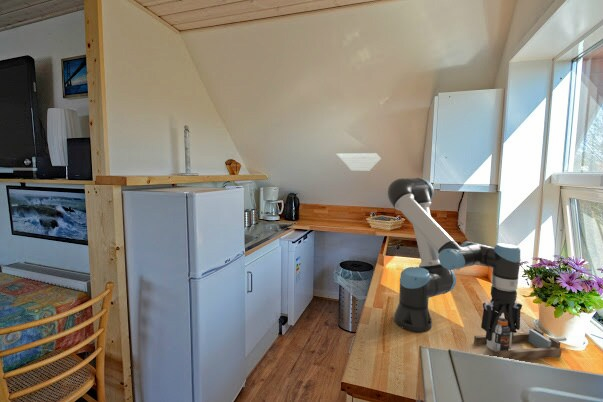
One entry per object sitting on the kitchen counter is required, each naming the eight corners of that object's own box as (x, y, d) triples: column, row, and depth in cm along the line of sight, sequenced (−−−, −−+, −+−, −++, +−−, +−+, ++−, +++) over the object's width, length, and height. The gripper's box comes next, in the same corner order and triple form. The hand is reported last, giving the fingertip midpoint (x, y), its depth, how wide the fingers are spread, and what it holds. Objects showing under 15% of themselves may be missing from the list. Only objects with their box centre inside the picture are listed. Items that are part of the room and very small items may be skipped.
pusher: (546, 354, 101) (548, 341, 100) (528, 341, 108) (529, 329, 107) (574, 352, 102) (576, 339, 101) (554, 339, 109) (555, 327, 109)
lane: (495, 361, 97) (496, 348, 96) (473, 343, 107) (474, 331, 107) (560, 356, 100) (562, 343, 99) (533, 339, 110) (534, 327, 109)
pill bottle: (501, 355, 99) (504, 325, 97) (485, 345, 104) (487, 316, 103) (512, 350, 101) (514, 321, 100) (495, 341, 107) (497, 313, 105)
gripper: (487, 293, 95) (482, 356, 98) (537, 290, 97) (531, 352, 100) (472, 284, 103) (467, 342, 105) (518, 282, 105) (513, 339, 107)
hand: (498, 347), depth 103 cm, fingers closed on pill bottle, 6 cm apart
